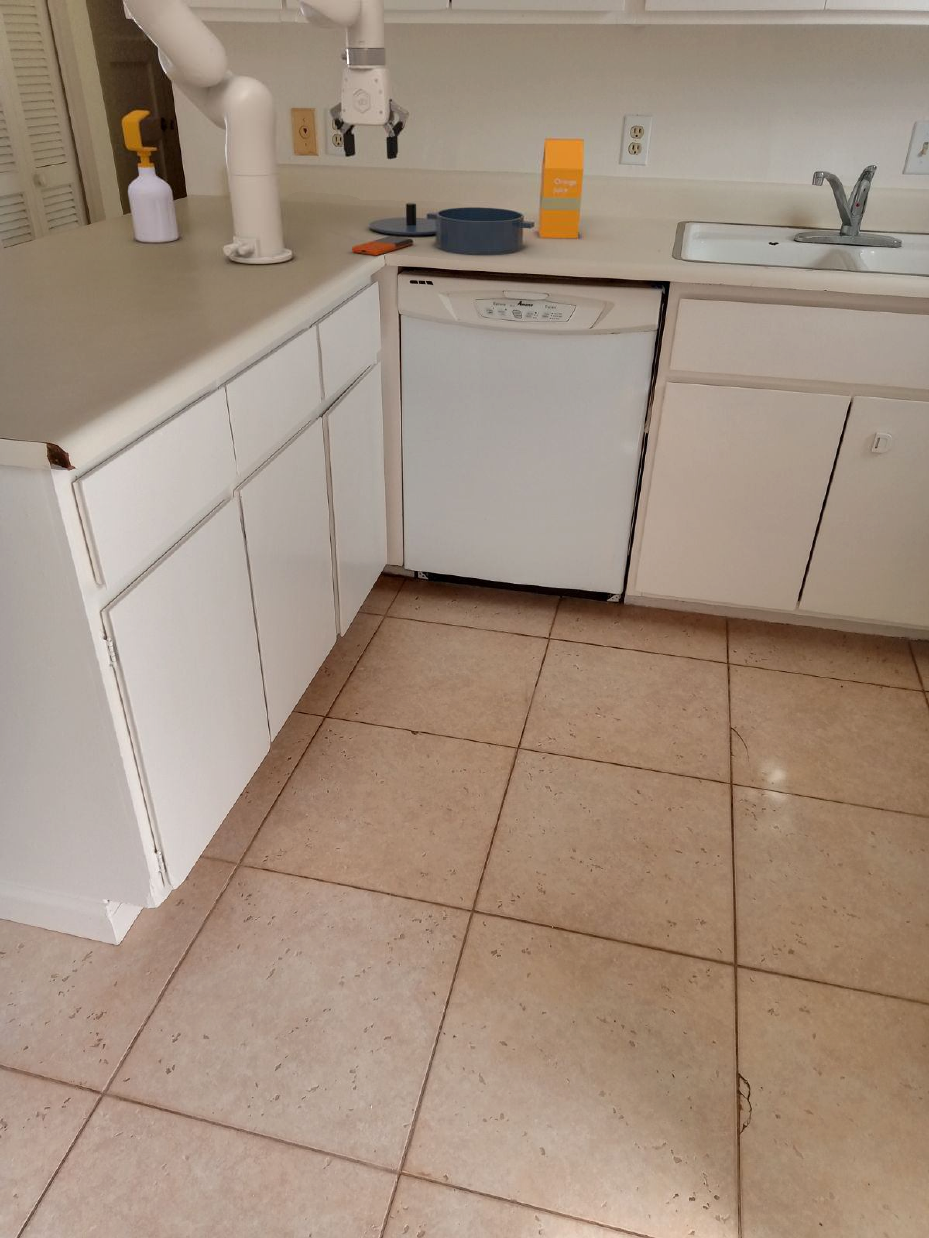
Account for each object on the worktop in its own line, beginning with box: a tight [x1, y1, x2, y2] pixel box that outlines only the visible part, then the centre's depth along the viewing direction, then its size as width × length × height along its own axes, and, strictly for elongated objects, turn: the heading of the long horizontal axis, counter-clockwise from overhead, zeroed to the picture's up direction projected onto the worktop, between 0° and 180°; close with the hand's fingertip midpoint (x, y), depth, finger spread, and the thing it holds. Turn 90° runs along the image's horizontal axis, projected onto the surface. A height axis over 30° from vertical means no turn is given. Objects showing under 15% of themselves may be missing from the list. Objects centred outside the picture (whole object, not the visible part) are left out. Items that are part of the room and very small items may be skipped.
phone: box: [351, 235, 414, 256], centre depth 191 cm, size 6×1×15 cm
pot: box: [426, 206, 535, 256], centre depth 194 cm, size 19×24×6 cm
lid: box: [368, 202, 436, 237], centre depth 210 cm, size 20×20×6 cm
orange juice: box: [537, 138, 584, 239], centre depth 204 cm, size 8×9×20 cm
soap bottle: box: [121, 109, 179, 244], centre depth 188 cm, size 9×9×25 cm
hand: (371, 157), depth 183 cm, fingers open, 9 cm apart
